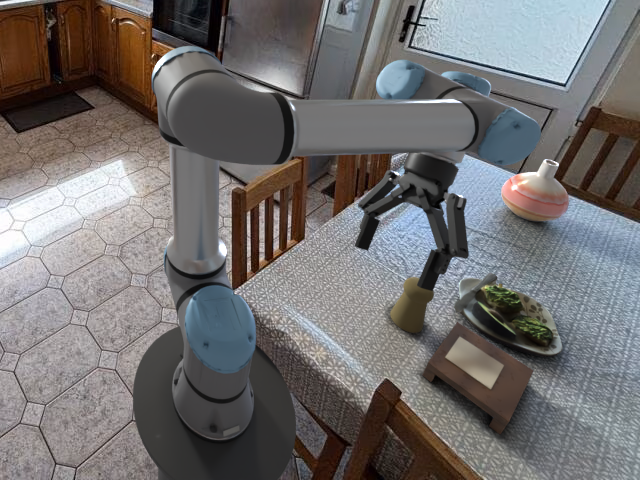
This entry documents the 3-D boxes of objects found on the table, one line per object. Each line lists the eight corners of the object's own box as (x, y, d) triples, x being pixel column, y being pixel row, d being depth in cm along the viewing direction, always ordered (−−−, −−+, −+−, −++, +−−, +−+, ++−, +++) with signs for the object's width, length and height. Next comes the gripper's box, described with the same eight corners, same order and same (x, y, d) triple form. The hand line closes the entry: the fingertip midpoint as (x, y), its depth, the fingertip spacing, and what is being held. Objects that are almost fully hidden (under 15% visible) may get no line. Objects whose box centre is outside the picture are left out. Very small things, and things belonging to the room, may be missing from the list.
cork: (394, 328, 87) (408, 292, 82) (387, 304, 92) (400, 269, 88) (426, 336, 86) (443, 300, 81) (417, 311, 91) (432, 275, 86)
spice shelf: (421, 375, 79) (428, 361, 77) (451, 334, 86) (457, 321, 84) (500, 434, 70) (509, 421, 68) (525, 383, 77) (534, 369, 75)
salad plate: (448, 264, 102) (454, 250, 100) (544, 297, 93) (553, 283, 91) (451, 325, 88) (458, 310, 86) (566, 372, 79) (576, 356, 77)
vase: (570, 235, 110) (601, 182, 103) (508, 224, 114) (534, 172, 107) (541, 203, 122) (567, 153, 114) (486, 194, 126) (508, 145, 118)
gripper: (529, 187, 62) (476, 314, 63) (391, 146, 86) (354, 239, 87) (496, 173, 60) (441, 305, 61) (364, 135, 84) (326, 230, 85)
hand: (389, 266), depth 74 cm, fingers open, 13 cm apart
